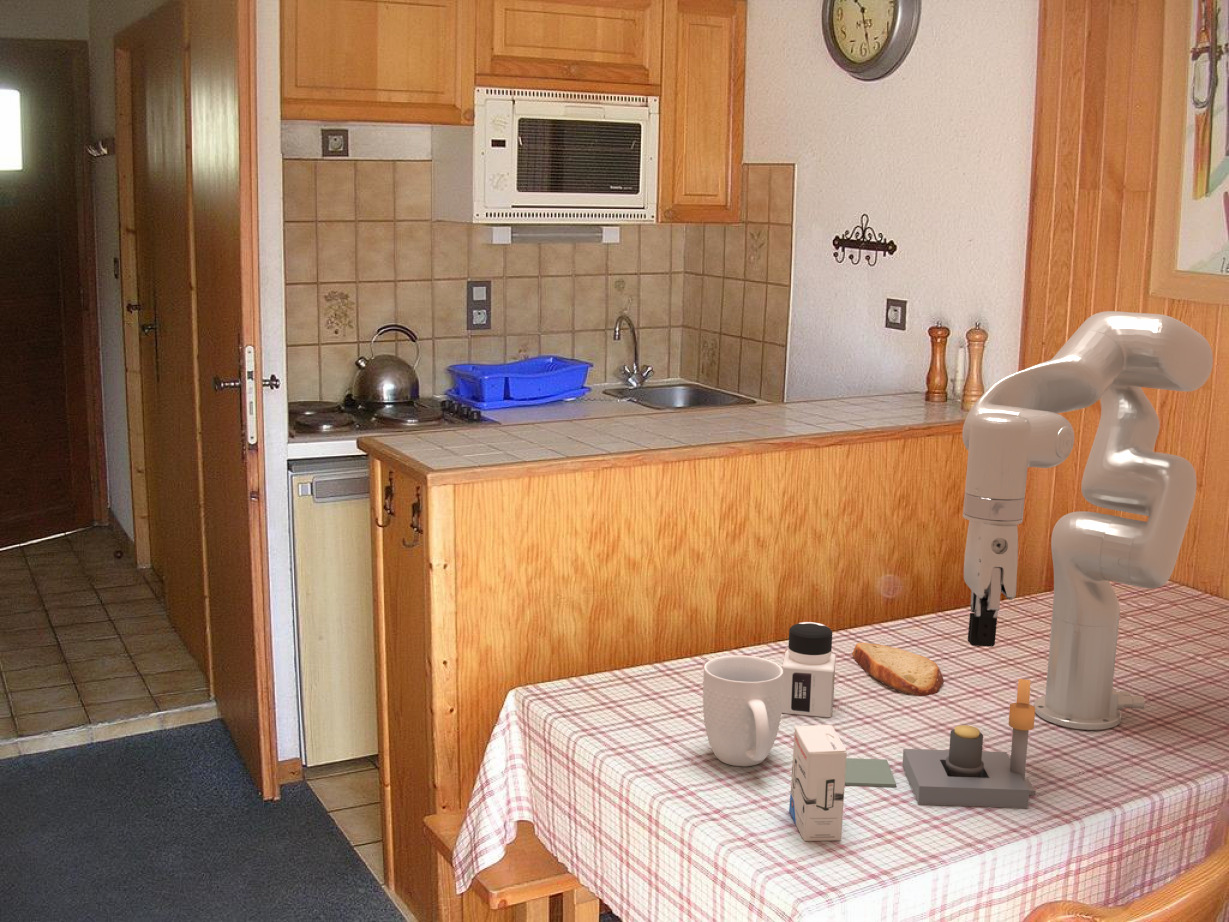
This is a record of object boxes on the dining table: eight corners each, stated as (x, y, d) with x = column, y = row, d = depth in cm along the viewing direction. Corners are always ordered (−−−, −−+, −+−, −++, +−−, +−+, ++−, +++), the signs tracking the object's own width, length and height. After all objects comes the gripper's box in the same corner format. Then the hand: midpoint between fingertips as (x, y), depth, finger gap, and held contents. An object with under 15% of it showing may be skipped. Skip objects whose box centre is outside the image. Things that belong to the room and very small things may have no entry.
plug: (977, 779, 178) (981, 723, 176) (985, 795, 173) (990, 737, 171) (940, 777, 178) (944, 722, 176) (948, 793, 173) (952, 736, 171)
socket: (1019, 769, 181) (1024, 711, 179) (1043, 808, 169) (1049, 746, 167) (902, 765, 181) (906, 707, 180) (918, 804, 170) (922, 742, 168)
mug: (801, 782, 176) (805, 689, 173) (722, 789, 173) (726, 695, 171) (764, 738, 190) (767, 652, 187) (691, 744, 187) (693, 657, 185)
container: (831, 718, 198) (835, 635, 196) (779, 713, 200) (783, 631, 197) (833, 700, 205) (837, 620, 203) (783, 695, 207) (787, 616, 205)
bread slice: (858, 650, 230) (859, 629, 230) (960, 668, 222) (962, 647, 221) (822, 681, 215) (823, 659, 214) (931, 702, 206) (932, 679, 206)
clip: (1033, 731, 171) (1035, 712, 171) (1008, 728, 172) (1009, 709, 172) (1035, 698, 183) (1036, 680, 183) (1011, 695, 184) (1012, 678, 184)
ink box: (788, 810, 167) (792, 723, 165) (826, 809, 168) (830, 722, 166) (803, 842, 159) (807, 751, 157) (843, 841, 159) (848, 750, 157)
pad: (886, 762, 182) (886, 759, 182) (896, 787, 175) (896, 784, 175) (828, 760, 183) (828, 757, 183) (835, 784, 175) (835, 782, 175)
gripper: (1038, 521, 163) (1024, 663, 166) (1008, 499, 178) (996, 629, 181) (977, 518, 164) (964, 660, 167) (952, 496, 178) (941, 626, 181)
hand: (980, 644), depth 174 cm, fingers closed
